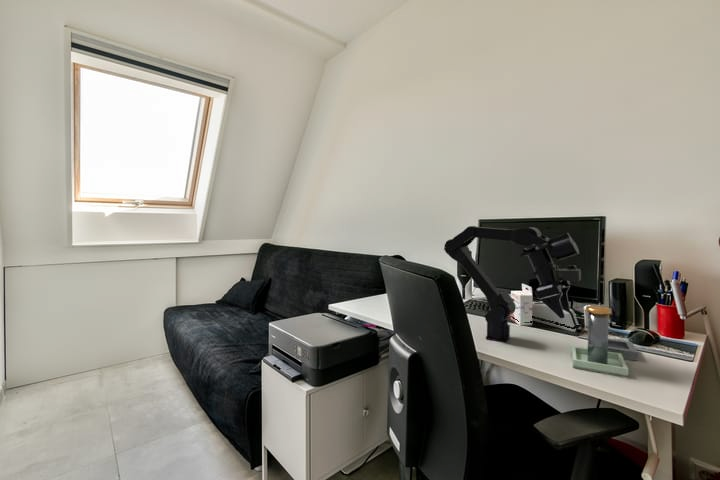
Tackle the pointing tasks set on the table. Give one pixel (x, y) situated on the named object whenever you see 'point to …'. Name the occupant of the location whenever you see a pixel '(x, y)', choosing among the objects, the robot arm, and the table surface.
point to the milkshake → (586, 317)
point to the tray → (613, 368)
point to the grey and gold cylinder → (598, 334)
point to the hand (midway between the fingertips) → (565, 314)
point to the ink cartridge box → (522, 305)
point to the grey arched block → (554, 316)
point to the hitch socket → (623, 349)
